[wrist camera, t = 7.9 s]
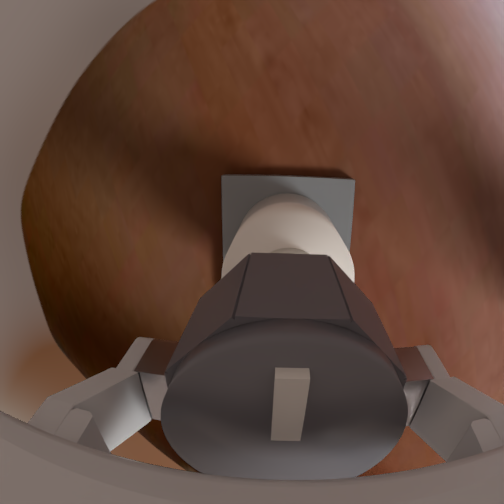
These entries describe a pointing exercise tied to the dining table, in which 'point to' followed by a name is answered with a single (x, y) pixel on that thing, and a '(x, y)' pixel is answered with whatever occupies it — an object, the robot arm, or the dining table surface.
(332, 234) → the jar
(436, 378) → the robot arm
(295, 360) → the cap
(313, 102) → the dining table surface
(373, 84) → the dining table surface
